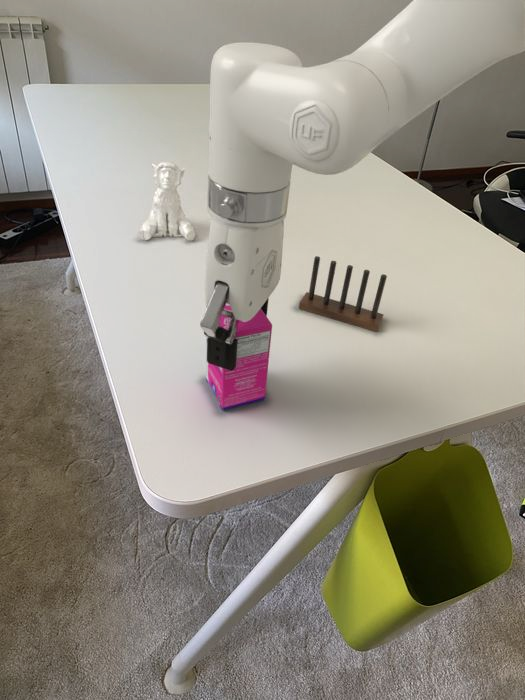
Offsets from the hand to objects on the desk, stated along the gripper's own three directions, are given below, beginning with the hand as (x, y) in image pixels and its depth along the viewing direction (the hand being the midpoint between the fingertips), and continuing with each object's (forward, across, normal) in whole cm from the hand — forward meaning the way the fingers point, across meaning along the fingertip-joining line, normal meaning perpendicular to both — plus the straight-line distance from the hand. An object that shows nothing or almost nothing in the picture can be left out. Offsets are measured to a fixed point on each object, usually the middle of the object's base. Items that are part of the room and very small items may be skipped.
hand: (237, 342), depth 62 cm
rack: (+7, +22, -7) cm, 24 cm away
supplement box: (+8, 0, 0) cm, 8 cm away
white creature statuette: (+8, +32, +28) cm, 43 cm away
